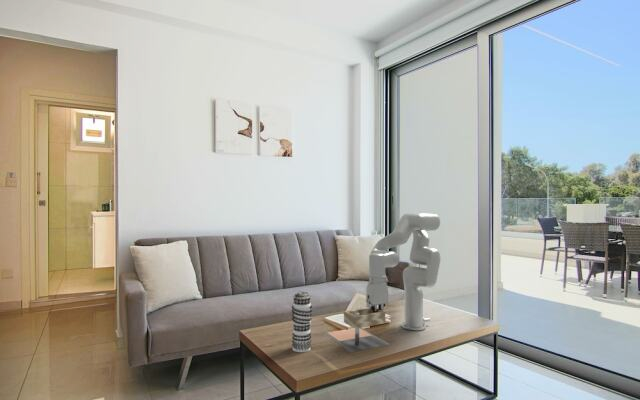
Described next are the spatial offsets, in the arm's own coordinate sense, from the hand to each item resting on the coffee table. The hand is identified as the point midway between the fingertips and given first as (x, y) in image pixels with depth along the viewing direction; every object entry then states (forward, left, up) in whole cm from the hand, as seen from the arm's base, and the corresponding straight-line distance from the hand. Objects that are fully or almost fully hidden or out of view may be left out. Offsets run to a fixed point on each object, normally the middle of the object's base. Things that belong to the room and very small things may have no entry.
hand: (377, 318), depth 182 cm
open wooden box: (+7, 0, -1) cm, 7 cm away
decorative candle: (+35, -9, -12) cm, 38 cm away
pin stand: (+8, -7, -11) cm, 15 cm away
